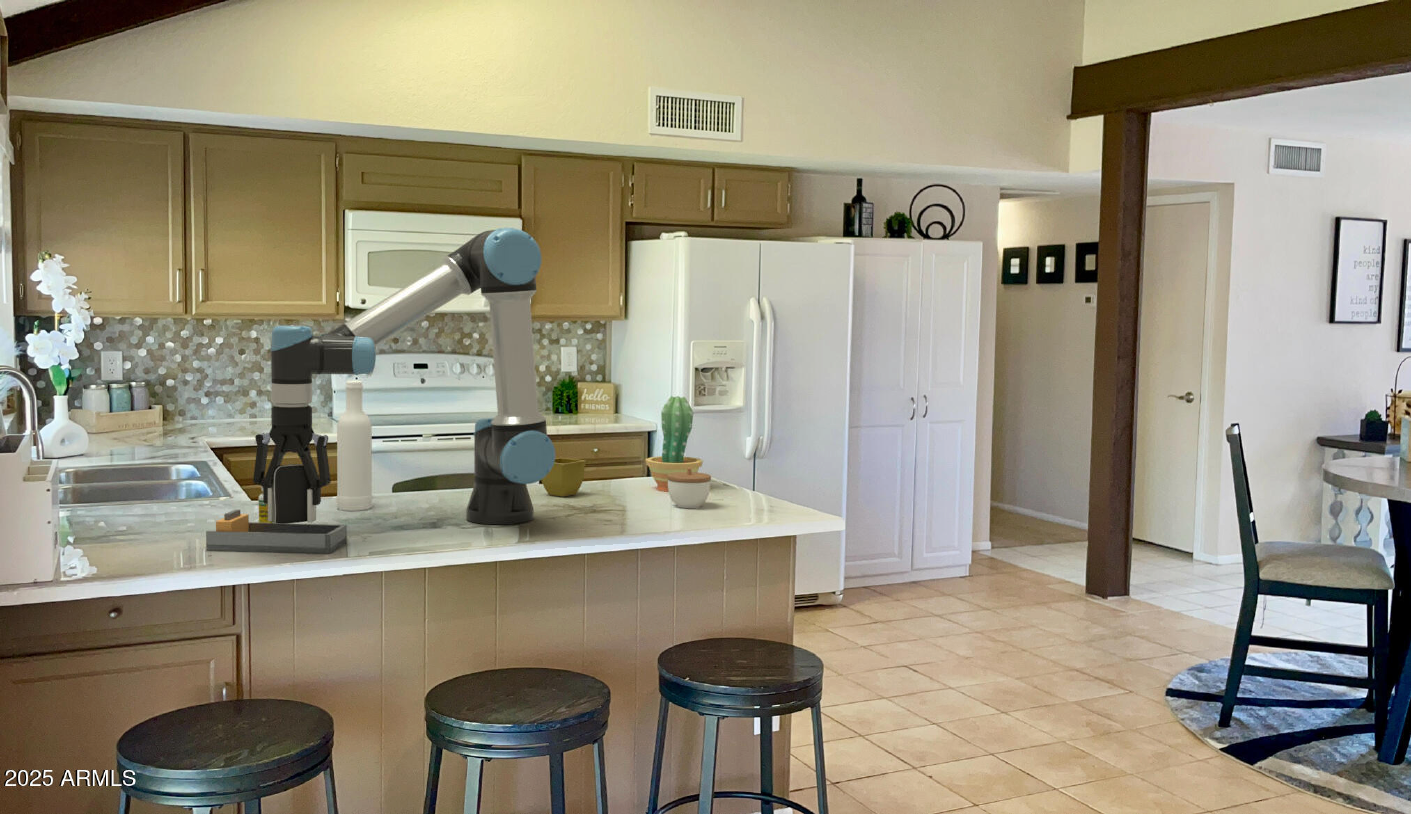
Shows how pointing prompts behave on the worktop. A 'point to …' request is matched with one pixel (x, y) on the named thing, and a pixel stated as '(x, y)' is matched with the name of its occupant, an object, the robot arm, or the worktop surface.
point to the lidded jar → (688, 488)
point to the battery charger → (290, 493)
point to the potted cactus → (673, 442)
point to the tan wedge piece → (233, 522)
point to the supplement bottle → (263, 510)
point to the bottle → (354, 453)
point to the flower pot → (564, 477)
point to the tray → (280, 538)
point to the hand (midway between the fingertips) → (292, 520)
